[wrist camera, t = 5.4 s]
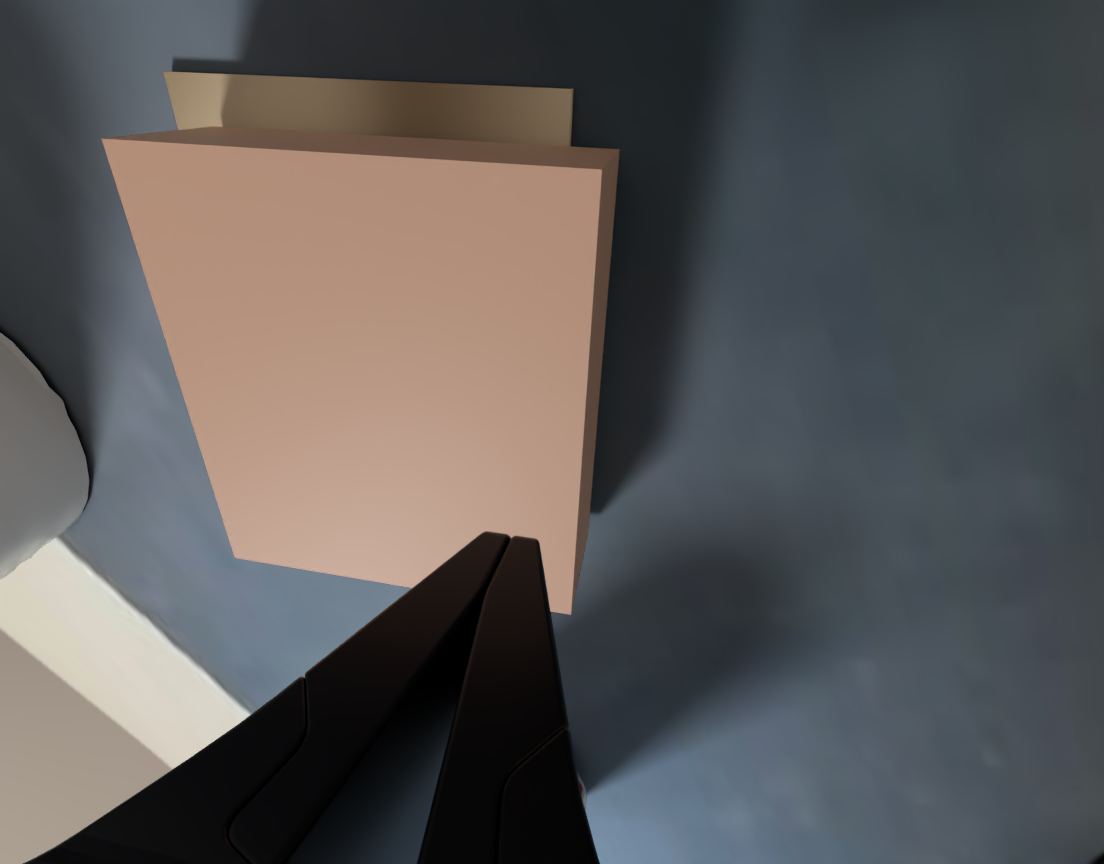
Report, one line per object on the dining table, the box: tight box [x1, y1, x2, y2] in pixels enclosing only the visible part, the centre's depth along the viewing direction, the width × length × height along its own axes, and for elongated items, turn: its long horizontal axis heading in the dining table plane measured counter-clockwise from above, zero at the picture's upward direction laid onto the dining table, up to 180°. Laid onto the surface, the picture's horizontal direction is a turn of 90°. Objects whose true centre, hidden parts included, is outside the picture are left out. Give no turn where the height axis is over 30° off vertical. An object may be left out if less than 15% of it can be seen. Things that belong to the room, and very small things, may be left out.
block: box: [102, 126, 620, 615], centre depth 14 cm, size 3×10×9 cm
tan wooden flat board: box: [163, 71, 573, 147], centre depth 16 cm, size 9×12×1 cm
